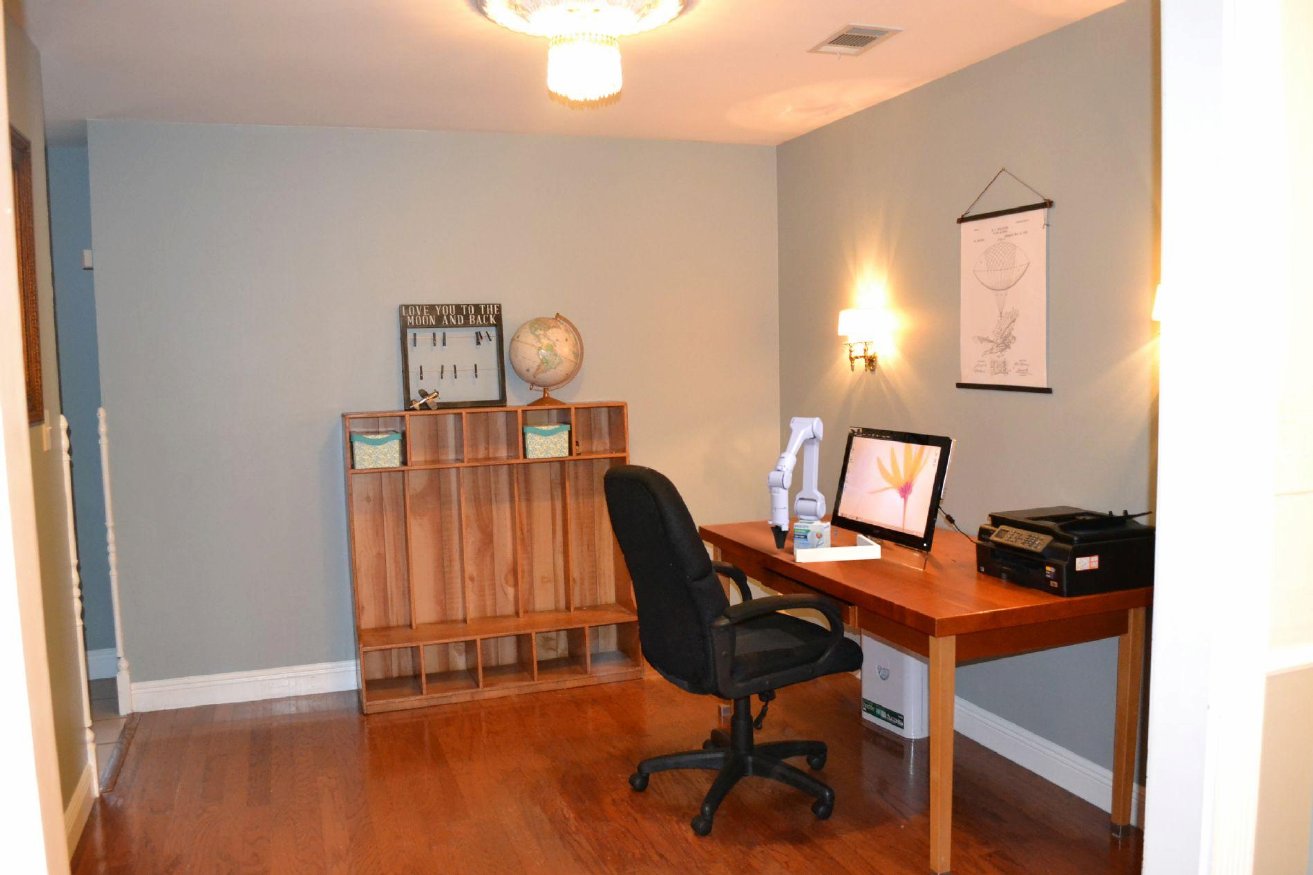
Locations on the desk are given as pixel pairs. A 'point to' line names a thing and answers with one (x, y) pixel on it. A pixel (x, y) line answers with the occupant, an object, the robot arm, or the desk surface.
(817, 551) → the corner walls
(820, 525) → the light bulb box
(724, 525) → the desk surface
